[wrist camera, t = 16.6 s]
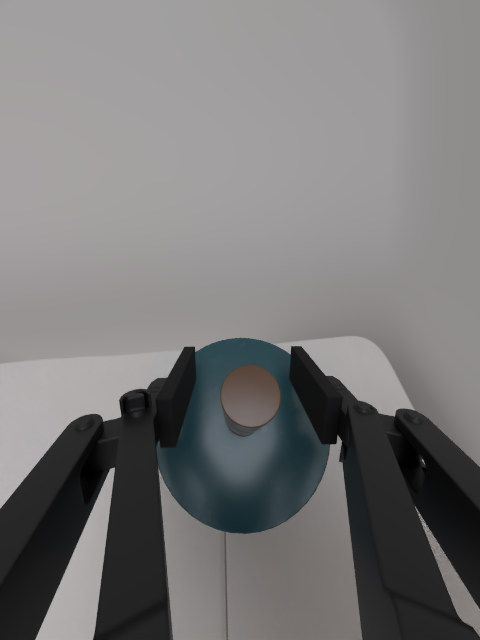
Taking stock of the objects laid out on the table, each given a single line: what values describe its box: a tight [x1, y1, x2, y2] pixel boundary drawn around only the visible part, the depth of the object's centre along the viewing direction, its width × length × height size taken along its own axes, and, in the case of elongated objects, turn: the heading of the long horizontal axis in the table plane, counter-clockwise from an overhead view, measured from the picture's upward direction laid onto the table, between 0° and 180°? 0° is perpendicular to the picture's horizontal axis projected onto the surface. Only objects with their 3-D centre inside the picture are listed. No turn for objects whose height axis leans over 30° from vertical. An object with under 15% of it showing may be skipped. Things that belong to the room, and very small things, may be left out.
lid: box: [156, 338, 330, 534], centre depth 14 cm, size 13×13×9 cm
